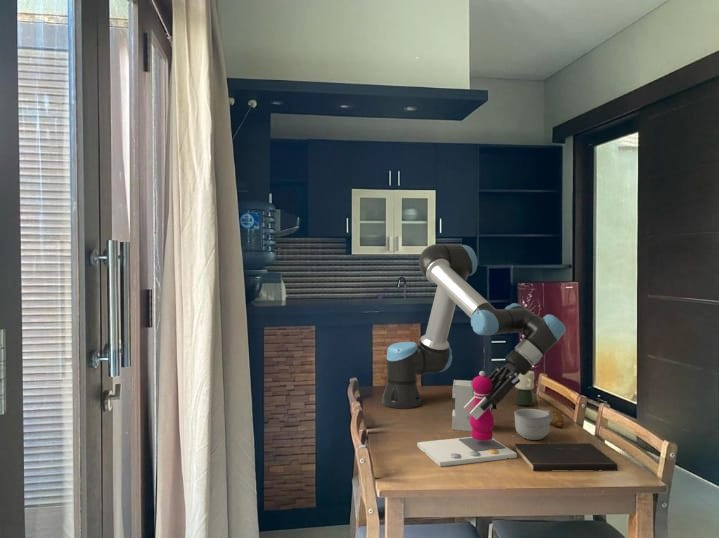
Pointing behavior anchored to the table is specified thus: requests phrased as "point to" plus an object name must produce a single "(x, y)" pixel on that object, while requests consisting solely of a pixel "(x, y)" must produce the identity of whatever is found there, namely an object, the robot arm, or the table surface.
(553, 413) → the croissant
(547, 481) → the table surface
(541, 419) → the teacup
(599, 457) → the hardcover book
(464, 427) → the circuit breaker
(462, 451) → the board
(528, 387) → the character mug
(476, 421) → the pepper mill
